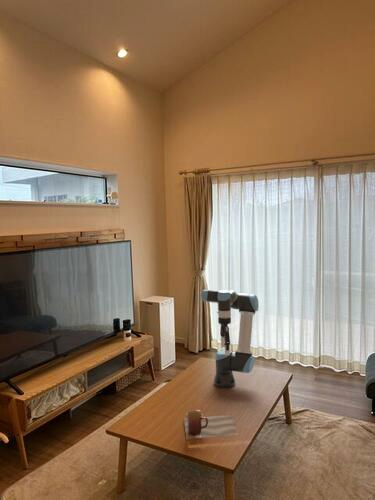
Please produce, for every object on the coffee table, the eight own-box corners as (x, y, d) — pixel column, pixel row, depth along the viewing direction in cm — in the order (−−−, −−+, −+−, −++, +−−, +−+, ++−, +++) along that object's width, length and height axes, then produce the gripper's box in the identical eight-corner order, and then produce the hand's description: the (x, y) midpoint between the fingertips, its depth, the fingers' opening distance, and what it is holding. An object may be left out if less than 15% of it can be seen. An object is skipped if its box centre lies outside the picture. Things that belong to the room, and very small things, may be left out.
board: (183, 417, 218) (183, 415, 218) (230, 414, 220) (230, 412, 220) (186, 441, 196) (186, 438, 195) (238, 436, 198) (238, 434, 198)
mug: (184, 435, 198) (183, 417, 197) (189, 426, 206) (189, 409, 206) (205, 439, 194) (205, 420, 193) (210, 430, 202) (210, 412, 201)
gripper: (215, 311, 233) (215, 344, 235) (221, 322, 209) (222, 359, 210) (226, 311, 234) (227, 343, 236) (235, 322, 209) (235, 358, 211)
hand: (225, 351), depth 223 cm, fingers open, 13 cm apart
